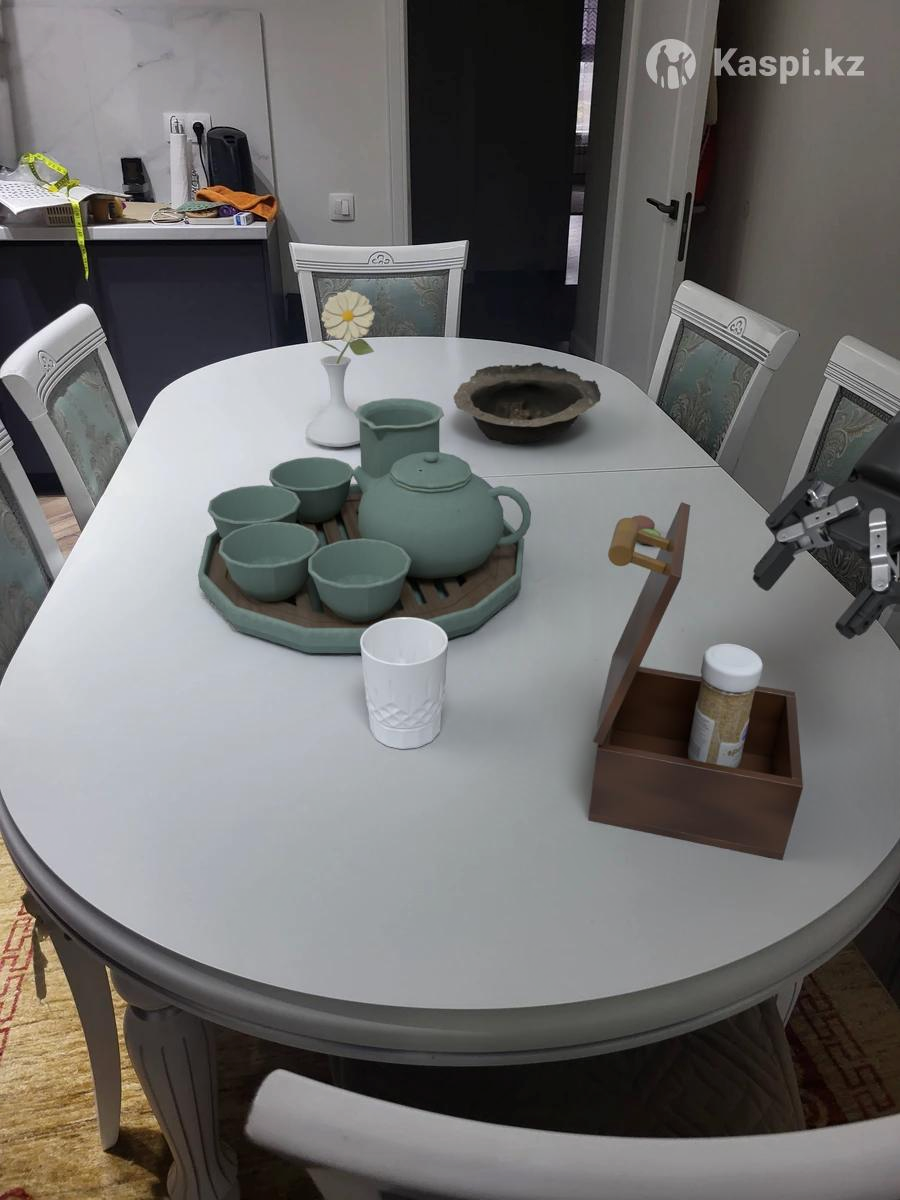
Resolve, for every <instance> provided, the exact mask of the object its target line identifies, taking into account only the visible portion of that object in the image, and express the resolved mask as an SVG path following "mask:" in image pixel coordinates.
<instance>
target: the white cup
mask: <svg viewBox="0 0 900 1200" xmlns="http://www.w3.org/2000/svg"><path fill="white" fill-rule="evenodd" d="M448 644H449V638H447V635H446V633H445V631H444V630H443V629H442V628H441V627H439V626H438V625H436V624H434V623H432V622H430V621H427V620H424V619H420V618H413V617H398V618H391V619H386V620H383V621H380V622H378V623H375V624H373V625H372V626H370V627H369V628H368V629H366V630H365V632H364V633H363V634H362V636H361V639H360V646H361V653H360V654H361V664H362V674H363V675H362V676H363V685H364V691H365V692H364V693H365V699H366V700H365V702H366V706H367V710H368V719H369V721H368V722H369V730H370V732H371V734H372V736H373V737H374V739H375V741H378V742H379V743H381V744H383V745H384V746H386V747H388V748H394V749H397V750H398V749H399V750H409V749H416V748H417V749H418V748H421V747H423V746H425V745H427V744H429V743H432V742H433V741H434V740H435V739H436V737H437V736H438V735H439V734H440V732H441V725H442V724H441V723H442V713H443V712H442V710H443V707H444V698H445V690H446V689H445V687H446V686H445V685H446V679H447V662H448V661H447V658H448Z"/></svg>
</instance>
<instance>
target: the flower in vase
mask: <svg viewBox="0 0 900 1200" xmlns="http://www.w3.org/2000/svg"><path fill="white" fill-rule="evenodd" d="M372 309H373V306H372V304H370V299H369V298H367V297H366V296H365V295H362V294H360V293H359V292H357V291H352V290H350V289H346V291H343V292H341V291H338V292H337V293H336V295H333V296H330V297H328V300H327V302H326V303H325V305H324V308H323V311H322V313H321V319H320V320H321V321H322V322H323V326H324V328H325V329H326V333H327V335H330V337H334V338H335V339H336V340H341V341H342V342H345V343H346V345H345V346H344V347H343V349H342V351H341V352H340V350H339V348H337V347H336V346H334V345H332V344H330V343H327V342H325V341H323V340H322V339H321V338H319V337H318V339H319V340H320V342H322V344H324V345H326V346H328V347H330V348H331V349H334V350H335V351H338V352H340V354H339V355H330V356H325V357H322V358H320V360H319V362H320V364H321V365H322V366H323V368H324V369H325V372H326V374H327V378H328V382H329V391H330V399H329V403H328V405H327V407H326V408H325V409H324V410H323V411H321V412H320V413H319V414H318V415H317V416H315V417H314V418H313V419H312V420H311V421H310V422H309V423H308V424H307V426H306V429H305V432H304V433H305V436H306V437H307V438H308V440H309V441H311V442H312V443H315V444H317V445H321V446H325V447H333V448H342V447H343V448H344V447H351V446H355V445H358V444H360V427H359V419H358V418H357V417H356V416H355V415H354V414H355V412H356V410H354V409H352V408H351V407H350V406H349V405H348V403H347V402H346V399H345V398H346V397H345V375H346V371H347V368H348V367H349V365H350V363H351V361H352V359H351V358H350V357H347V356H344V354H345V352H346V351H347V349H348V347H349V348H350V350H351V351H352V352H353V354H354V355H356V356H364V355H368V354H371V353H372V354H373V353H374V352H375V350H374V349H373V348H372V347H371V345H370V344H369V343H368V342H367V341H366V340H364V339H363V336H367V334H368V332H369V331H370V327H371V326H372V325H373V320H374V319H375V314H376V313H375V311H373V310H372Z"/></svg>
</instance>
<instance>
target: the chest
mask: <svg viewBox="0 0 900 1200" xmlns="http://www.w3.org/2000/svg"><path fill="white" fill-rule="evenodd" d="M701 679H702V677H701V675H695V674H694V675H693V674H689V673H688V674H687V673H681V672H677V671H675V672H674V671H671V670H670V671H669V670H662V669H657V668H652V667H645V666H639V668H638V670H637V673H636V675H635V677H634V679H633V681H632V683H631V685H630V687H629V689H628V692H627V694H626V696H625V698H624V700H623V702H622V704H621V706H620V709H619V711H618V713H617V715H616V717H615V719H614V721H613V723H612V725H611V728H610V730H609V732H608V734H607V736H606V738H605V740H604V742H603V744H602V745H600V744H596V751H595V760H594V768H593V776H592V784H591V785H592V786H591V794H590V800H589V808H588V809H589V810H588V821H590V822H591V821H592V822H595V823H601V824H605V825H610V826H616V827H621V828H624V829H625V828H626V829H630V830H634V831H638V832H639V831H640V832H644V833H649V834H655V835H660V836H664V837H669V838H672V839H673V838H674V839H678V840H683V841H687V842H693V843H697V844H703V845H708V846H713V847H717V848H721V849H726V850H732V851H736V852H740V853H741V852H742V853H745V854H750V855H756V856H760V857H765V858H771V859H776V860H780V861H783V859H784V857H785V853H786V849H787V846H788V842H789V839H790V835H791V833H792V828H793V825H794V821H795V817H796V814H797V811H798V807H799V803H800V799H801V796H802V792H803V789H804V782H803V769H802V758H801V757H802V756H801V755H802V754H801V745H800V744H801V743H800V732H799V721H798V708H797V707H798V706H797V696H796V692H795V691H792V690H786V689H779V688H775V687H774V688H772V687H767V686H761V685H758V686H757V687H756V689H755V692H754V696H753V700H752V706H751V710H750V714H749V722H748V727H747V732H746V737H745V741H744V746H743V751H742V755H741V760H740V763H739V766H738V768H733V767H728V766H723V765H717V764H712V763H706V762H701V761H696V760H690V759H687V758H688V747H689V741H690V736H691V730H692V725H693V719H694V713H695V707H696V702H697V700H698V695H699V691H700V685H701Z"/></svg>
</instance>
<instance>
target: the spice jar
mask: <svg viewBox="0 0 900 1200" xmlns="http://www.w3.org/2000/svg"><path fill="white" fill-rule="evenodd" d="M762 671H763V661H762V658H761V657H760V656H759V654H758V653H756V652H755V651H754V650H752V649H750V648H747V647H746V646H743V645H739V644H734V643H718V644H715V645H711V646H710V647H708V648H707V649H706V650H705V651H704V653H703V658H702V662H701V668H700V674H701V675H700V677H702V679H701V685H700V691H699V695H698V700H697V702H696V707H695V713H694V719H693V725H692V730H691V736H690V741H689V747H688V758H687V759H690V760H696V761H701V762H706V763H712V764H717V765H723V766H728V767H733V768H738V766H739V763H740V760H741V755H742V751H743V746H744V741H745V737H746V732H747V727H748V722H749V714H750V710H751V706H752V700H753V696H754V692H755V689H756V687H757V686H759V685H760V682H761V677H762V673H763V672H762Z"/></svg>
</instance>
